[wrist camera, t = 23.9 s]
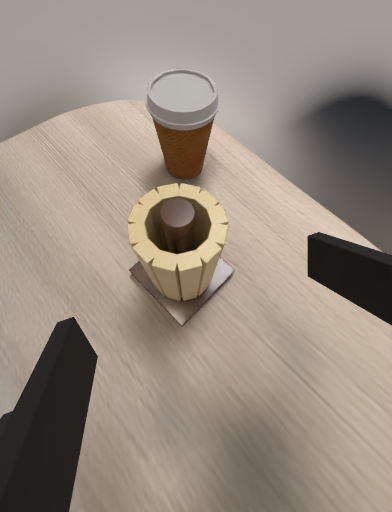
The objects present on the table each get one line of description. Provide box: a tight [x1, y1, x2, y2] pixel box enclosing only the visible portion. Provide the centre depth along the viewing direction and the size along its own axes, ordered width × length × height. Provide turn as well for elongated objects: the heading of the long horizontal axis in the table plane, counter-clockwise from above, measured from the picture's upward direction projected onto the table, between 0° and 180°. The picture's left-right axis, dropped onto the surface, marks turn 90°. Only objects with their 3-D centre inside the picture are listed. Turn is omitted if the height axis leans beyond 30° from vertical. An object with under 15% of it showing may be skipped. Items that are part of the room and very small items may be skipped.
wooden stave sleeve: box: [127, 183, 228, 301], centre depth 23 cm, size 8×8×12 cm
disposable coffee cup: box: [145, 68, 220, 179], centre depth 31 cm, size 10×10×12 cm
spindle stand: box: [129, 198, 235, 326], centre depth 23 cm, size 10×10×15 cm
